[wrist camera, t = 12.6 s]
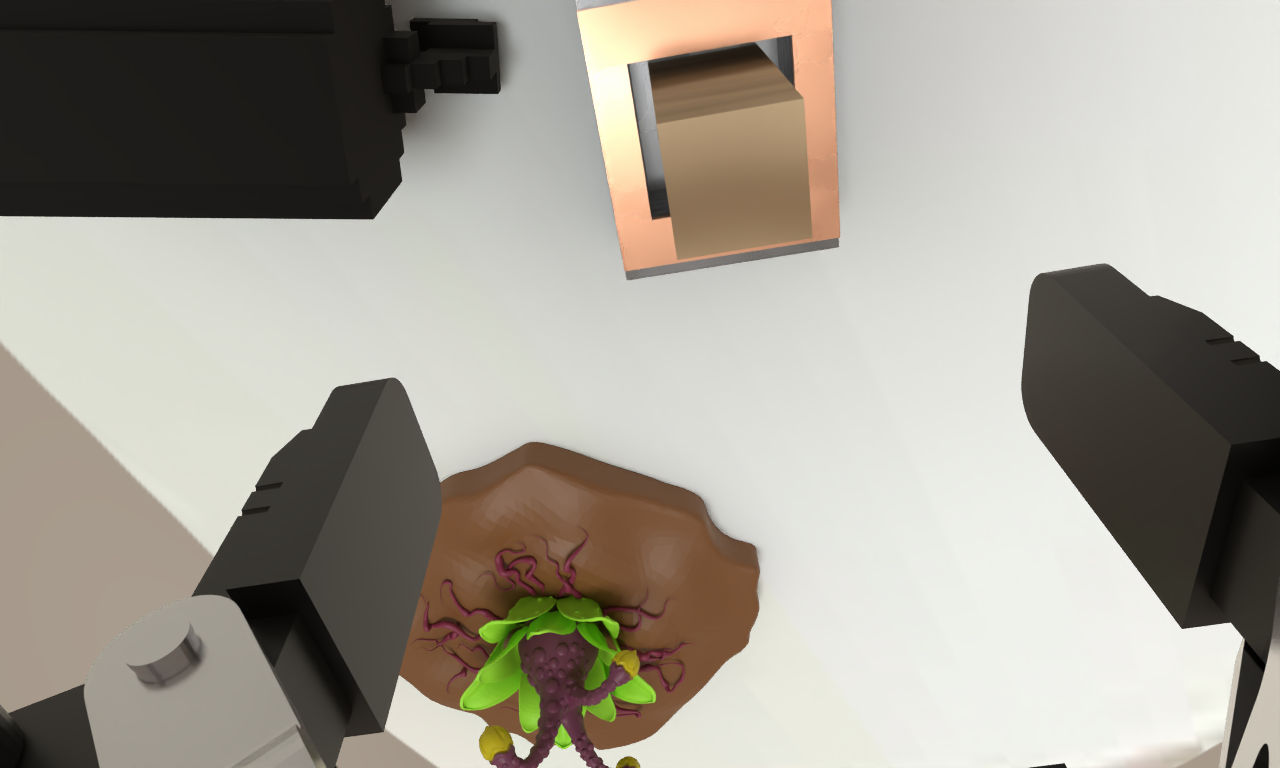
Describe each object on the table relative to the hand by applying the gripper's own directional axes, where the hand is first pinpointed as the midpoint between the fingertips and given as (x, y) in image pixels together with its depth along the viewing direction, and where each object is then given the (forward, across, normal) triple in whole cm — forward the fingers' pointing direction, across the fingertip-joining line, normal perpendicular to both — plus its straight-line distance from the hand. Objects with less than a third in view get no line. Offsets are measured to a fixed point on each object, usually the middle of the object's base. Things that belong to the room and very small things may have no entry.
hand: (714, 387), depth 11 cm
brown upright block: (+23, -2, +2) cm, 23 cm away
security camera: (+24, +14, -2) cm, 28 cm away
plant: (+24, +9, +27) cm, 37 cm away
